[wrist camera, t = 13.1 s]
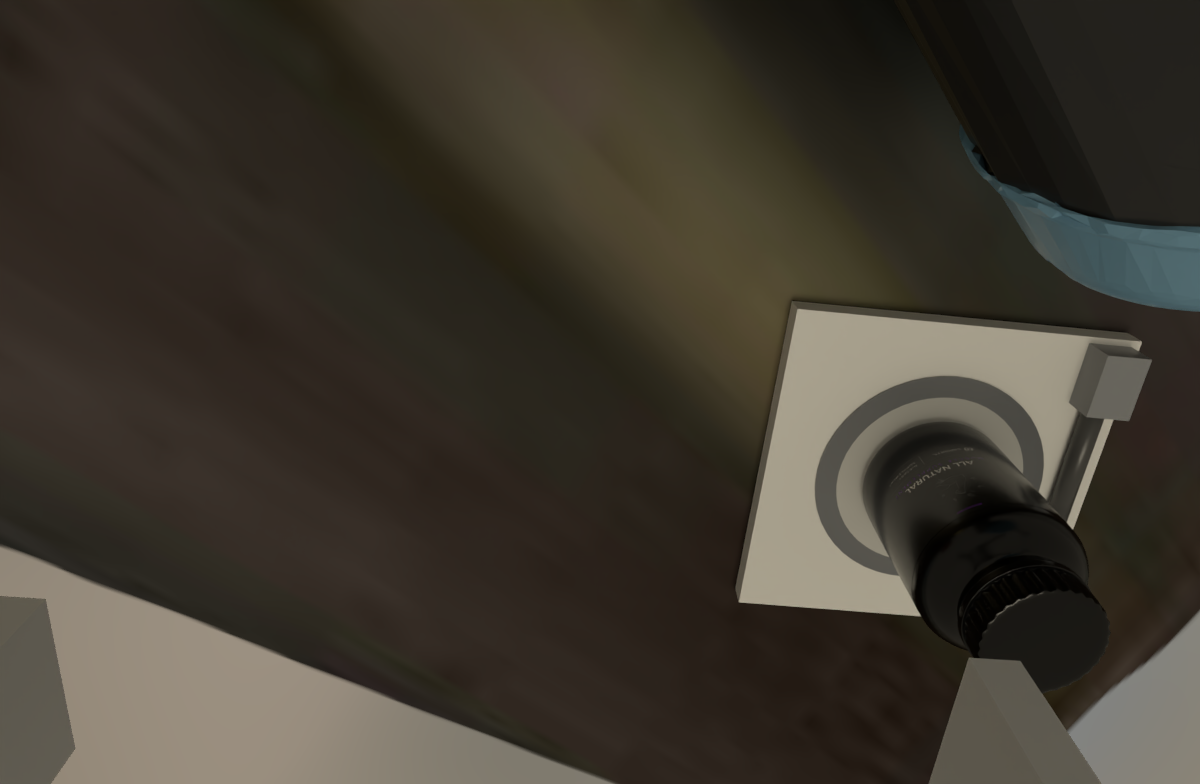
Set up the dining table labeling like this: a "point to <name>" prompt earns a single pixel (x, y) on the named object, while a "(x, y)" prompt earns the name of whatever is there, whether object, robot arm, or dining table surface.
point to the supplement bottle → (985, 553)
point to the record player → (901, 401)
